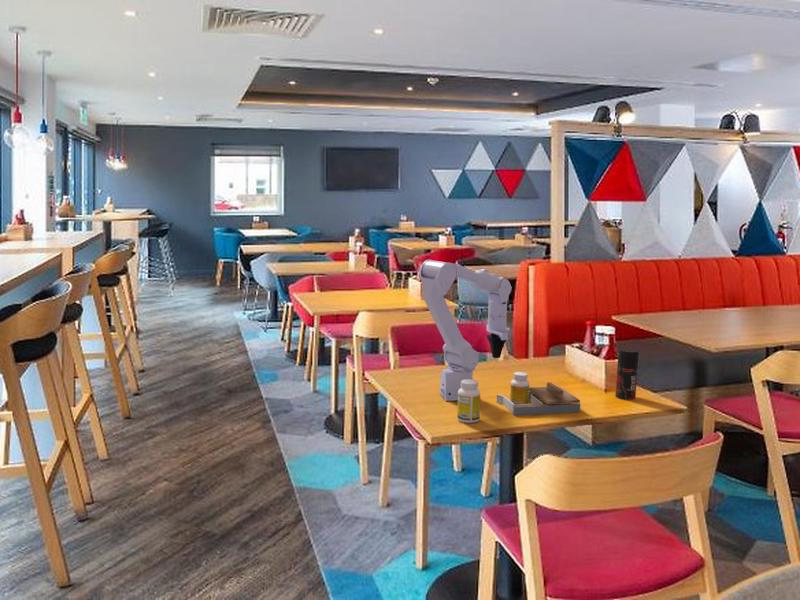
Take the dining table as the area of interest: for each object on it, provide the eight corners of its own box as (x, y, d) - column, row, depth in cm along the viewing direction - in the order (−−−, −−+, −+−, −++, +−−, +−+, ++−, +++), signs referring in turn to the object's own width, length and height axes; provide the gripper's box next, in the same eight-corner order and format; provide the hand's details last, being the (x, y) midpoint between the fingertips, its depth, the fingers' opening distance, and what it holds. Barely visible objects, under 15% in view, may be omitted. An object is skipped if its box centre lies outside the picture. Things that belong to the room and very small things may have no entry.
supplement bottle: (526, 409, 209) (528, 376, 208) (508, 406, 211) (510, 374, 209) (529, 403, 214) (531, 372, 213) (511, 401, 216) (513, 370, 214)
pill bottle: (476, 416, 202) (478, 378, 200) (481, 423, 196) (483, 384, 194) (455, 416, 201) (456, 378, 200) (459, 423, 195) (460, 384, 194)
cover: (547, 404, 204) (547, 393, 204) (528, 390, 218) (528, 379, 218) (579, 402, 207) (580, 392, 206) (558, 388, 220) (559, 378, 220)
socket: (511, 416, 203) (512, 407, 202) (494, 400, 216) (495, 392, 216) (579, 412, 207) (580, 404, 207) (559, 397, 221) (559, 389, 220)
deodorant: (621, 393, 227) (624, 346, 225) (638, 397, 223) (642, 350, 220) (611, 396, 223) (615, 349, 220) (629, 401, 219) (633, 353, 216)
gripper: (518, 319, 218) (516, 362, 221) (501, 310, 232) (500, 351, 235) (495, 320, 217) (494, 363, 219) (480, 311, 231) (479, 352, 233)
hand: (496, 357), depth 227 cm, fingers closed
